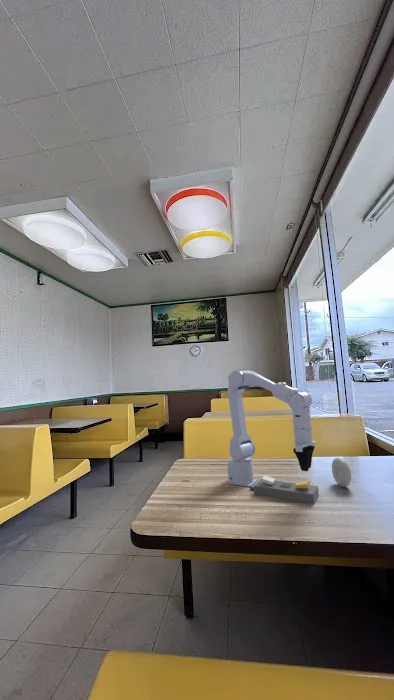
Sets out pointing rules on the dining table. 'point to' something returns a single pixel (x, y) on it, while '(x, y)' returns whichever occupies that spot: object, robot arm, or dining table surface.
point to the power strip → (286, 491)
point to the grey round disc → (341, 472)
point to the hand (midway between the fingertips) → (306, 469)
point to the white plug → (268, 480)
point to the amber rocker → (302, 484)
